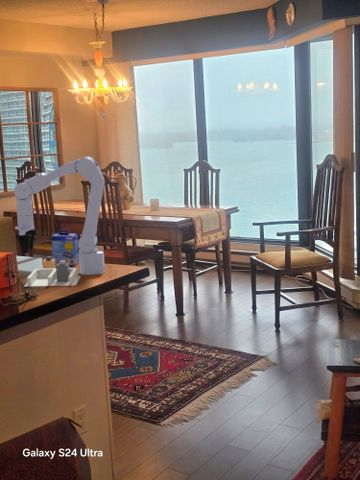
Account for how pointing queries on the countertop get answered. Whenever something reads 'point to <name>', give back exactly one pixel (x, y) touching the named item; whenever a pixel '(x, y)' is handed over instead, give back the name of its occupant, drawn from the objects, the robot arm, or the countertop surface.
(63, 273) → the charcoal plug
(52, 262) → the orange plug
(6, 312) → the countertop surface
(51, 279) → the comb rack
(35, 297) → the countertop surface
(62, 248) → the ink cartridge box
